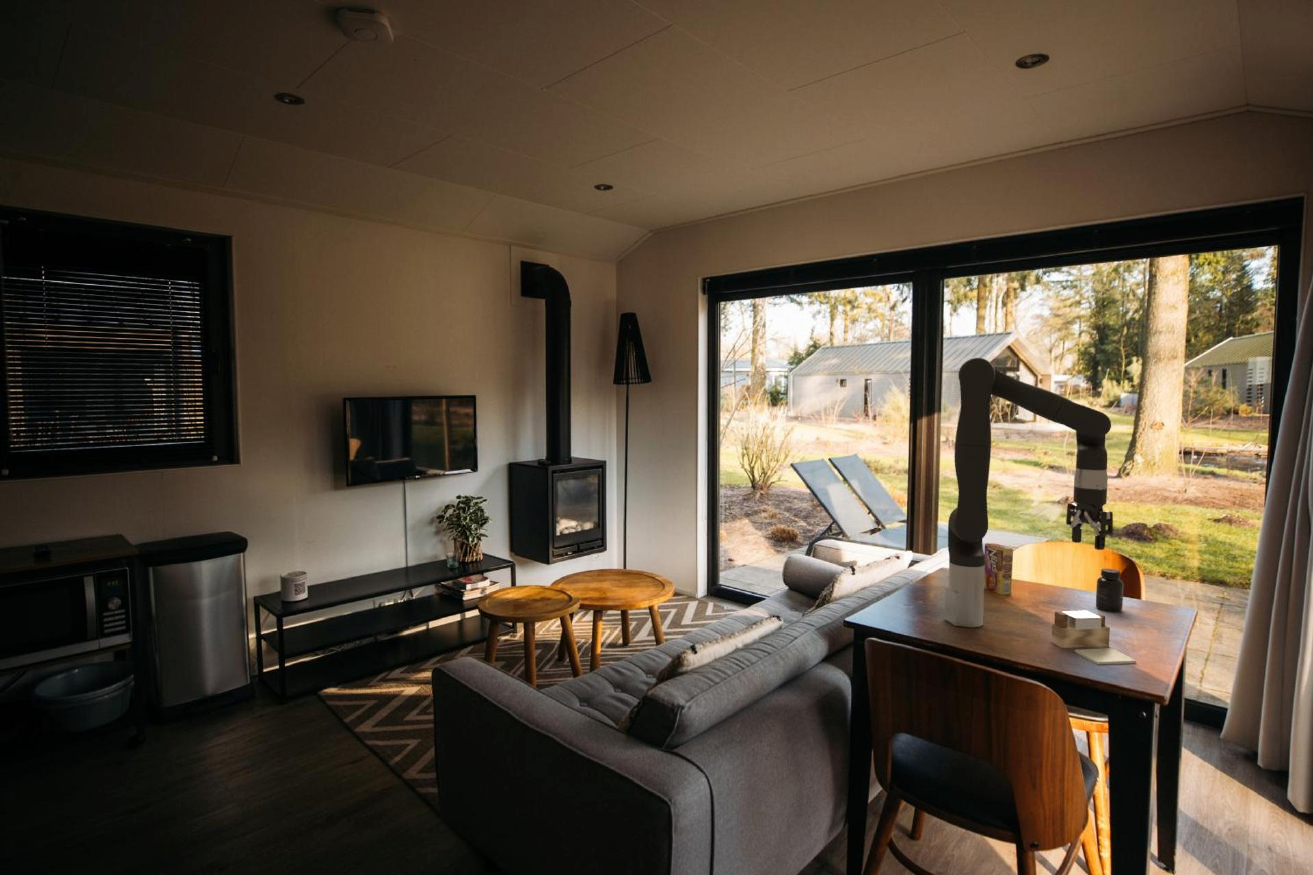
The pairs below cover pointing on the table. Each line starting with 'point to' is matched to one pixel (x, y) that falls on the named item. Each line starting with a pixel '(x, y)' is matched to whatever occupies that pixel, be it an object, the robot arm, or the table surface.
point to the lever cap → (1083, 620)
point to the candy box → (998, 568)
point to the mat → (1105, 656)
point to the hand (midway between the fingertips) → (1087, 545)
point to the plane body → (1078, 633)
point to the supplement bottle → (1109, 591)
